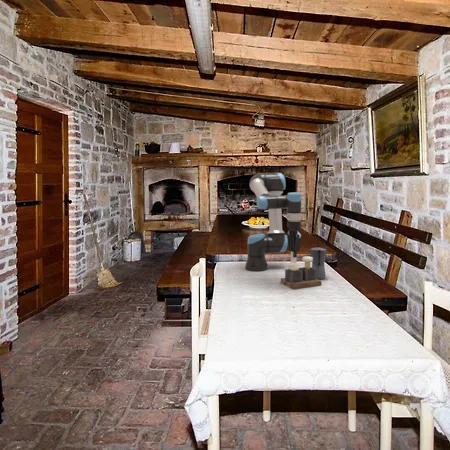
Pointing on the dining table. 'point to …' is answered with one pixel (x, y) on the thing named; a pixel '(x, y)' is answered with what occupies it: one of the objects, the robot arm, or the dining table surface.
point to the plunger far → (307, 262)
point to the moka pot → (318, 261)
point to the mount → (301, 278)
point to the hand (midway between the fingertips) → (293, 262)
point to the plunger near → (293, 267)
